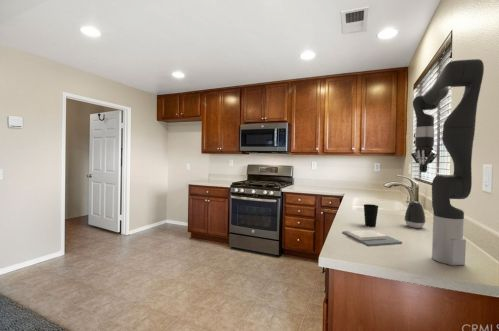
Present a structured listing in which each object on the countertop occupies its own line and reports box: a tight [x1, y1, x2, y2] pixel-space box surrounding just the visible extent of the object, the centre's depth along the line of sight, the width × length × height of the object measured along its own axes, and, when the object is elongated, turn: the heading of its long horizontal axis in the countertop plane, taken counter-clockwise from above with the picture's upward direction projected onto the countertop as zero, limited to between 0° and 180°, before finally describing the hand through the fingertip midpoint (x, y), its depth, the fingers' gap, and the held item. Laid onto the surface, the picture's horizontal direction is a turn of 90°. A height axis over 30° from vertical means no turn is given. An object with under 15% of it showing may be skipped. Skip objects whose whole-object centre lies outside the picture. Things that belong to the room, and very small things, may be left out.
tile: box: [347, 229, 388, 240], centre depth 124 cm, size 10×2×14 cm
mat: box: [341, 229, 403, 247], centre depth 124 cm, size 20×18×1 cm
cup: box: [363, 203, 379, 228], centre depth 147 cm, size 8×8×12 cm
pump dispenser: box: [404, 200, 427, 229], centre depth 146 cm, size 10×10×15 cm
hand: (423, 172), depth 123 cm, fingers closed
